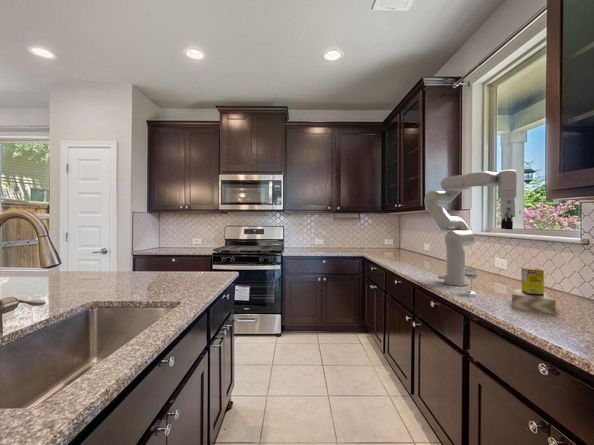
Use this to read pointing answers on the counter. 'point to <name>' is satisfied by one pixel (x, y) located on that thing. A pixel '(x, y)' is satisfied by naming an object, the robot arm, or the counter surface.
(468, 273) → the wineglass
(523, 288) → the supplement box
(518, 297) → the riser block
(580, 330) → the counter surface
